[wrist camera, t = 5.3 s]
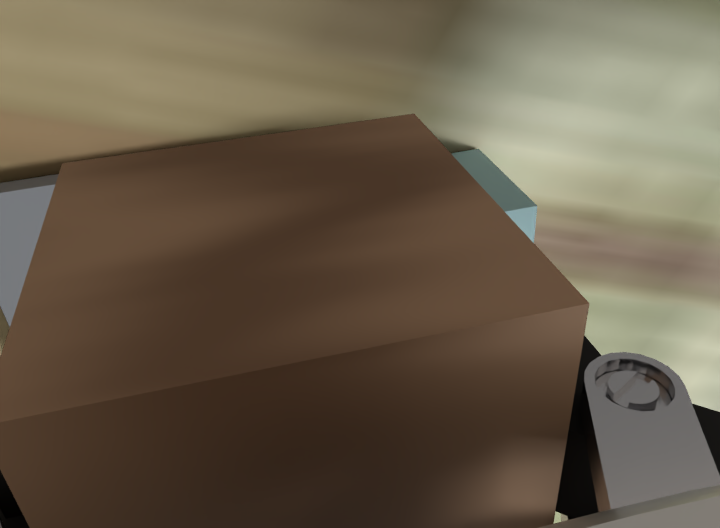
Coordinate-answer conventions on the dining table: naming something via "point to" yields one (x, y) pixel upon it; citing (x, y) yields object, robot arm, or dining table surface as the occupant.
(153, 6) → the dining table surface
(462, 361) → the walnut block
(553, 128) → the dining table surface
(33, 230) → the grey flat slab
